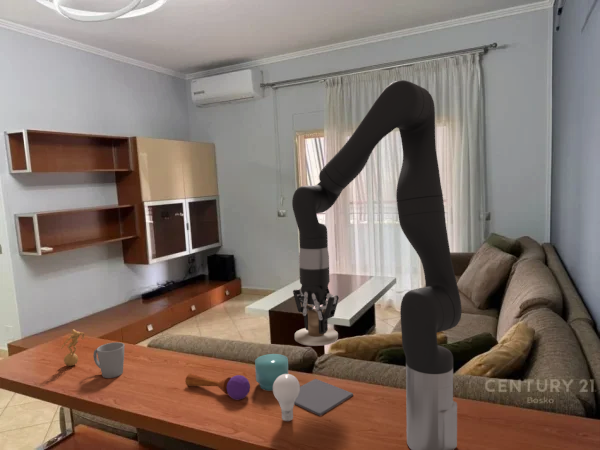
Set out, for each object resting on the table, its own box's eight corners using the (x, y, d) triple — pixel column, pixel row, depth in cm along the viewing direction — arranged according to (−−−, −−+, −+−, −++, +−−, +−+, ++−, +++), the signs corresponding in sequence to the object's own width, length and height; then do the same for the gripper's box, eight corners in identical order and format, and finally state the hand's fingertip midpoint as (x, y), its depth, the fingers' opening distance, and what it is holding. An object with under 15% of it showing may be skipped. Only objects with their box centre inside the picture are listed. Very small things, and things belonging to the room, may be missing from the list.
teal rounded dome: (295, 383, 117) (294, 359, 116) (271, 396, 111) (270, 370, 110) (273, 374, 123) (272, 351, 123) (249, 385, 117) (248, 361, 116)
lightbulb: (286, 410, 103) (284, 366, 102) (306, 418, 99) (305, 373, 98) (268, 422, 98) (266, 376, 97) (288, 431, 94) (287, 383, 93)
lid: (346, 336, 108) (346, 309, 108) (318, 349, 100) (317, 320, 100) (314, 327, 116) (313, 302, 115) (285, 338, 108) (284, 312, 107)
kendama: (197, 366, 121) (254, 374, 112) (197, 388, 121) (254, 397, 111) (182, 370, 116) (240, 379, 107) (181, 393, 116) (240, 403, 106)
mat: (353, 395, 110) (352, 393, 110) (320, 416, 100) (320, 413, 100) (315, 380, 119) (315, 378, 118) (282, 398, 109) (282, 396, 109)
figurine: (77, 359, 139) (74, 324, 138) (91, 361, 137) (88, 325, 136) (55, 370, 131) (52, 332, 130) (70, 372, 129) (66, 334, 128)
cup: (114, 381, 122) (112, 352, 121) (86, 377, 125) (84, 349, 124) (131, 370, 129) (130, 343, 129) (104, 367, 132) (102, 340, 131)
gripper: (345, 265, 104) (347, 333, 106) (303, 260, 114) (305, 322, 115) (326, 270, 99) (328, 342, 100) (283, 264, 108) (286, 329, 110)
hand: (316, 331), depth 108 cm, fingers closed on lid, 4 cm apart
